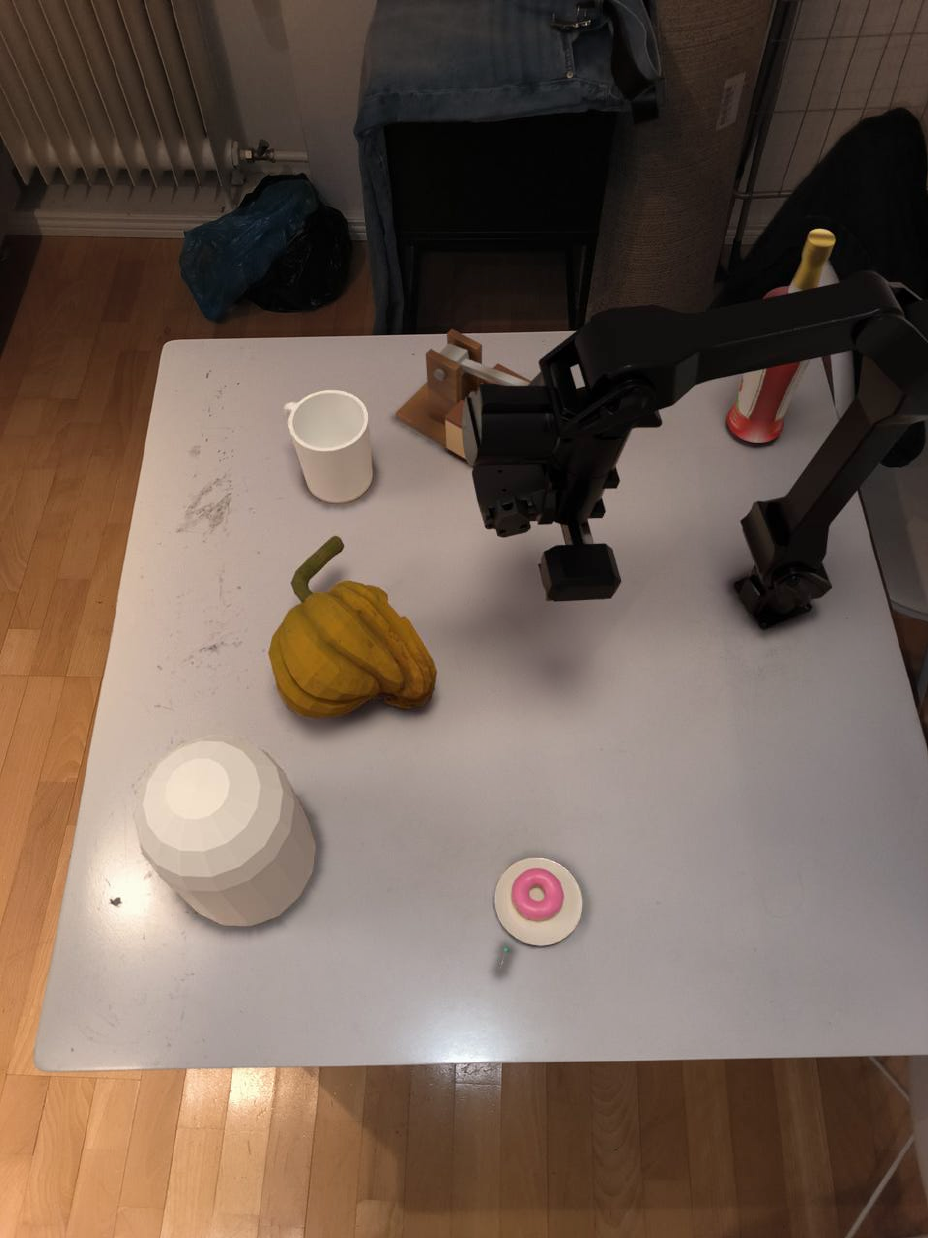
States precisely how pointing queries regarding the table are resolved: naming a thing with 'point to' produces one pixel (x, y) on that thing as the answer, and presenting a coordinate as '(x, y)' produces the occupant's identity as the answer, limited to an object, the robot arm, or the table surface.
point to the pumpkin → (346, 648)
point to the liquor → (775, 387)
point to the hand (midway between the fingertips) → (541, 558)
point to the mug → (332, 444)
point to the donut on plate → (538, 901)
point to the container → (225, 830)
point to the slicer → (441, 390)
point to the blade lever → (484, 369)
